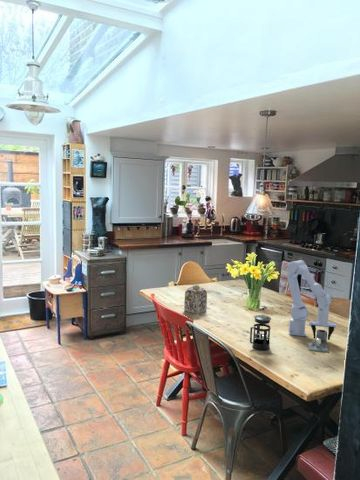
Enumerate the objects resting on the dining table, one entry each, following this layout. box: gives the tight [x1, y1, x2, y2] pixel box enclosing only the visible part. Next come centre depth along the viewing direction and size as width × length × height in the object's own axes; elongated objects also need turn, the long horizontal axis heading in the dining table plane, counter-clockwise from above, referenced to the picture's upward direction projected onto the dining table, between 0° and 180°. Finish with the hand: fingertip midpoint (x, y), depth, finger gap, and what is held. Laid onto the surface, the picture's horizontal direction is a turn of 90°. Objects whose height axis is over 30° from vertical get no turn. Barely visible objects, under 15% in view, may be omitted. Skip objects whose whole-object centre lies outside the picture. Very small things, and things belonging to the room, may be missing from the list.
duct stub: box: [307, 337, 330, 354], centre depth 221 cm, size 10×10×5 cm
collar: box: [315, 328, 328, 344], centre depth 231 cm, size 5×5×6 cm
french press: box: [249, 305, 272, 352], centre depth 219 cm, size 12×9×23 cm
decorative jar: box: [183, 284, 208, 315], centre depth 281 cm, size 12×12×18 cm
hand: (321, 338), depth 231 cm, fingers open, 7 cm apart
